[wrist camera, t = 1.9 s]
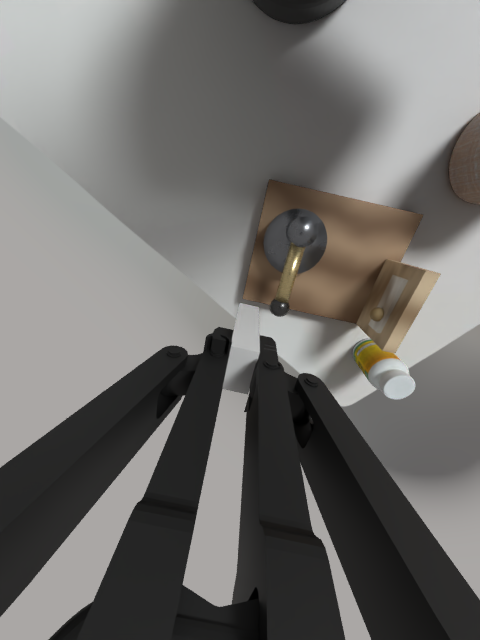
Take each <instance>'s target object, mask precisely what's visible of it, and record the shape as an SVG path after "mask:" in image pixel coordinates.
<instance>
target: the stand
mask: <svg viewBox="0 0 480 640" xmlns="http://www.w3.org/2000/svg"><path fill="white" fill-rule="evenodd" d="M291 209H306V210H309V211H311V212H313V213H315V214H316V215H317V216H318V217H319V218H320V219H321V220H322V222H323V223H324V225H325V228H326V232H327V246H326V249H325V252H324V254H323V256H322V258H321V259H320V261H319V262H318V263H317V264H316V265H315V266H314V267H313V268H311V269H310V270H308V271H306V272H303V273H300V274H297V276H296V279H295V282H294V286H293V289H292V292H291V295H290V298H289V305H290V309H292V310H296V311H301V312H305V313H310V314H314V315H319V316H323V317H328V318H333V319H337V320H342V321H346V322H351V323H355V324H357V325H358V326H359V327H360V328H361V329H362V330H363V331H364V332H365V333H366V334H367V335H368V336H369V337H370V338H371V339H372V341H373V342H374V343H375V344H376V345H377V346H378V347H379V348H380V349H381V350H382V351H386V352H391V353H396V351H397V349H398V347H399V346H400V344H401V342H402V341H403V339H404V337H405V335H406V334H407V332H408V330H409V328H410V327H411V325H412V323H413V321H414V320H415V318H416V316H417V315H418V313H419V311H420V309H421V308H422V306H423V304H424V302H425V301H426V299H427V297H428V295H429V294H430V292H431V290H432V288H433V287H434V285H435V283H436V282H437V280H438V278H439V276H440V275H441V274H440V273H436V272H433V271H429V270H426V269H422V268H418V267H415V266H411V265H408V264H404V263H401V260H402V258H403V256H404V254H405V252H406V250H407V248H408V246H409V244H410V241H411V239H412V237H413V235H414V233H415V231H416V229H417V227H418V225H419V223H420V221H421V219H422V217H423V215H422V214H417V213H413V212H409V211H404V210H400V209H396V208H391V207H387V206H383V205H378V204H374V203H370V202H365V201H361V200H357V199H352V198H348V197H343V196H339V195H335V194H330V193H326V192H322V191H317V190H313V189H309V188H304V187H300V186H296V185H291V184H287V183H283V182H278V181H274V180H269V182H268V186H267V191H266V195H265V200H264V204H263V209H262V213H261V218H260V223H259V227H258V232H257V236H256V241H255V245H254V250H253V254H252V259H251V263H250V268H249V272H248V277H247V281H246V286H245V290H244V295H243V299H246V300H251V301H255V302H260V303H264V304H269V305H270V303H271V301H272V300H273V299H275V297H276V293H277V290H278V286H279V283H280V279H281V275H282V272H280V271H278V270H277V269H275V268H274V267H273V266H272V265H271V264H270V263H269V261H268V260H267V258H266V255H265V252H264V245H263V241H264V235H265V232H266V229H267V227H268V226H269V224H270V223H271V221H272V220H273V219H274V218H275V217H276V216H278V215H279V214H281V213H283V212H285V211H287V210H291Z"/></svg>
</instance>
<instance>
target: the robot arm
mask: <svg viewBox="0 0 480 640" xmlns="http://www.w3.org/2000/svg"><path fill="white" fill-rule="evenodd" d="M344 1H345V0H253V2H254V3H255V4H256V5H257V6H258V7H259V8H260V9H261V10H262V11H263V12H265V13H266V14H267V15H269V16H270V17H272V18H274V19H276V20H279V21H282V22H285V23H292V24H301V23H307V22H311V21H314V20H317V19H319V18H322V17H324V16H325V15H327V14H329V13H330V12H332V11H333V10H335V9H336V8H337V7H338V6H340V5H341V4H342V3H343V2H344ZM222 389H226V390H231V391H235V392H240V393H244V394H248V392H249V389H250V393H249V397H248V400H247V404H246V407H245V411H244V412H247V415H246V431H245V448H244V465H243V481H242V482H243V483H242V498H241V515H240V532H239V548H238V564H237V574H236V575H237V576H236V581H235V586H234V592H233V600H232V605H228V606H223V607H217V606H214V605H212V604H211V603H209V602H208V601H206V600H205V599H203V598H202V597H200V596H199V595H197V594H196V593H194V592H193V591H191V590H190V589H188V588H186V587H185V586H183V585H182V584H183V579H184V574H185V569H186V564H187V559H188V554H189V550H190V545H191V540H192V535H193V530H194V525H195V520H196V515H197V509H198V504H199V499H200V495H201V490H202V485H203V480H204V475H205V470H206V465H207V461H208V456H209V451H210V446H211V441H212V436H213V431H214V427H215V422H216V417H217V412H218V407H219V402H220V398H221V392H222ZM183 395H185V398H184V400H183V402H182V405H181V407H180V410H179V412H178V415H177V417H176V420H175V422H174V424H173V427H172V429H171V432H170V434H169V436H168V439H167V441H166V444H165V446H164V449H163V451H162V453H161V456H160V458H159V461H158V463H157V466H156V468H155V470H154V473H153V475H152V478H151V480H150V483H149V485H148V488H147V490H146V492H145V494H144V497H143V498H142V500H141V501H140V502H138V503H137V505H136V506H135V508H134V509H133V511H132V514H131V516H130V518H129V520H128V522H127V524H126V527H125V529H124V531H123V534H122V536H121V539H120V541H119V543H118V545H117V548H116V550H115V552H114V554H113V557H112V559H111V561H110V564H109V566H108V568H107V571H106V574H105V575H104V578H103V580H102V582H101V585H100V587H99V589H98V592H97V594H96V596H95V599H94V601H93V602H92V603H90V604H89V605H87V606H86V607H84V608H83V609H81V610H80V611H79V612H78V613H77V614H75V615H74V616H73V617H72V618H71V619H69V620H68V621H67V622H66V623H65V624H64V625H63V626H62V627H61V628H60V629H59V630H58V631H57V632H56V633H55V634H54V635H53V636H52V637H51V638H50V639H49V640H345V636H344V631H343V626H342V622H341V617H340V612H339V608H338V602H337V598H336V593H335V589H334V584H333V579H332V575H331V569H330V564H329V560H328V556H327V553H326V549H325V547H324V545H323V543H322V541H321V539H319V538H318V537H316V536H315V535H314V533H313V531H312V527H311V522H310V516H309V510H308V505H307V499H306V494H305V488H304V482H303V476H302V471H301V465H302V467H303V470H304V473H305V475H306V478H307V480H308V483H309V485H310V487H311V490H312V493H313V495H314V497H315V500H316V502H317V505H318V507H319V510H320V513H321V515H322V518H323V520H324V522H325V525H326V528H327V530H328V532H329V535H330V537H331V540H332V542H333V545H334V547H335V550H336V552H337V555H338V557H339V560H340V562H341V565H342V567H343V570H344V572H345V575H346V577H347V580H348V582H349V585H350V587H351V590H352V592H353V595H354V597H355V599H356V602H357V605H358V607H359V610H360V612H361V615H362V617H363V620H364V622H365V624H366V627H367V630H368V632H369V634H370V637H371V640H480V600H479V598H478V597H477V596H476V594H475V593H474V591H473V590H472V589H471V587H470V586H469V585H468V583H467V582H466V580H465V579H464V578H463V576H462V575H461V573H460V572H459V571H458V569H457V568H456V567H455V565H454V564H453V562H452V561H451V560H450V558H449V557H448V555H447V554H446V553H445V551H444V550H443V548H442V547H441V546H440V544H439V543H438V541H437V540H436V539H435V537H434V536H433V534H432V533H431V532H430V530H429V529H428V528H427V526H426V525H425V524H424V522H423V521H422V519H421V518H420V516H419V515H418V514H417V512H416V511H415V510H414V508H413V507H412V505H411V504H410V502H409V501H408V500H407V498H406V497H405V496H404V495H403V493H402V491H401V490H400V489H399V487H398V486H397V484H396V483H395V482H394V480H393V479H392V477H391V476H390V475H389V473H388V472H387V470H386V469H385V468H384V466H383V465H382V464H381V462H380V461H379V459H378V458H377V457H376V455H375V454H374V452H373V451H372V450H371V448H370V447H369V445H368V444H367V443H366V442H365V440H364V439H363V437H362V436H361V434H360V433H359V432H358V430H357V429H356V427H355V426H354V425H353V423H352V422H351V420H350V419H349V418H348V416H347V415H346V413H345V412H344V411H343V409H342V408H341V407H340V405H339V404H338V402H337V401H336V400H335V398H334V397H333V395H332V394H331V393H330V391H329V390H328V388H327V387H326V386H325V384H324V383H323V382H322V381H321V380H320V379H319V378H318V377H316V376H314V375H312V374H308V373H301V374H300V375H299V376H298V378H295V377H293V376H291V375H289V374H287V373H285V372H284V368H283V366H282V364H281V363H280V362H278V356H277V349H276V343H275V341H274V340H273V339H272V338H270V337H266V336H261V335H259V307H256V306H251V305H247V304H242V303H240V304H239V309H238V313H237V318H236V322H235V327H234V330H231V329H226V328H221V327H218V328H216V329H215V330H214V332H213V333H212V334H209V335H207V337H206V341H205V347H204V352H203V353H201V354H198V355H188V353H187V351H186V350H185V349H184V348H182V347H179V346H167V347H164V348H162V349H161V350H160V351H158V352H157V353H155V354H154V355H153V356H151V357H150V358H149V359H147V360H146V361H145V362H143V363H142V364H140V365H139V366H138V367H136V368H135V369H134V370H132V371H131V372H130V373H128V374H127V375H126V376H124V377H123V378H121V379H120V380H119V381H117V382H116V383H115V384H113V385H112V386H111V387H109V388H108V389H107V390H106V391H104V392H102V393H101V394H100V395H98V396H97V397H96V398H94V399H93V400H92V401H90V402H89V403H88V404H86V405H85V406H84V407H82V408H81V409H79V410H78V411H77V412H75V413H74V414H73V415H71V416H70V417H69V418H67V419H66V420H65V421H63V422H62V423H60V424H59V425H58V426H56V427H55V428H54V429H52V430H51V431H50V432H48V433H47V434H46V435H44V436H43V437H41V438H40V439H39V440H37V441H36V442H35V443H33V444H32V445H31V446H29V447H28V448H26V449H25V450H24V451H22V452H21V453H20V454H18V455H17V456H16V457H14V458H13V459H12V460H10V461H9V462H7V463H6V464H5V465H4V466H2V467H1V468H0V616H1V615H2V614H3V613H4V612H5V611H6V610H7V609H8V607H9V606H10V605H11V604H12V603H13V602H14V601H15V599H16V598H17V597H18V596H19V595H20V594H21V593H22V591H23V590H24V589H25V588H26V587H27V586H28V585H29V583H30V582H31V581H32V580H33V578H34V577H35V576H36V575H37V574H38V572H39V571H40V570H41V569H42V567H43V566H44V565H45V564H46V563H47V561H48V560H49V559H50V558H51V557H52V555H53V554H54V553H55V552H56V551H57V549H58V548H59V547H60V546H61V544H62V543H63V542H64V541H65V539H66V538H67V537H68V536H69V535H70V533H71V532H72V531H73V530H74V529H75V527H76V526H77V525H78V524H79V523H80V521H81V520H82V519H83V518H84V516H85V515H86V514H87V513H88V512H89V510H90V509H91V508H92V507H93V505H94V504H95V503H96V502H97V501H98V499H99V498H100V497H101V496H102V495H103V493H104V492H105V491H106V490H107V488H108V487H109V486H110V485H111V484H112V482H113V481H114V480H115V479H116V477H117V476H118V475H119V474H120V473H121V471H122V470H123V469H124V468H125V467H126V465H127V464H128V463H129V462H130V460H131V459H132V458H133V457H134V456H135V454H136V453H137V452H138V450H139V449H140V448H141V447H142V446H143V445H144V443H145V442H146V441H147V440H148V438H149V437H150V436H151V435H152V434H153V432H154V431H155V430H156V429H157V427H158V426H159V425H160V424H161V423H162V422H163V420H164V419H165V418H166V417H167V415H168V414H169V413H170V412H171V411H172V409H173V408H174V407H175V406H176V404H177V403H178V402H179V401H180V400H181V397H182V396H183ZM311 418H312V419H311ZM300 463H301V465H300Z"/></svg>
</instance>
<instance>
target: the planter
mask: <svg viewBox="0 0 480 640" xmlns="http://www.w3.org/2000/svg"><path fill="white" fill-rule="evenodd" d="M449 179H450V184H451V186H452V188H453V190H454V192H455V193H456V195H457V196H458V197H460V198H461V199H462V200H464V201H466V202H469V203H472V204H480V113H479V114H478V115H477V116H476V117H475V118H474V119H473V120H472V121H471V122H470V123H469V124H468V126H467V127H466V128H465V129H464V131H463V132H462V134H461V135H460V137H459V139H458V140H457V142H456V145H455V147H454V149H453V152H452V155H451V159H450V164H449Z"/></svg>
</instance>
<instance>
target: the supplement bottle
mask: <svg viewBox="0 0 480 640" xmlns="http://www.w3.org/2000/svg"><path fill="white" fill-rule="evenodd" d="M353 358H354V360H355V361H356V363H357V364H358V366H359V367H360V369H361V370H362V371H363V373H364V374H365V376H366V377H367V379H368V380H369V382H370V383H371V384H372V385H373V386H374V387H375V388H377V389H380V390H381V391H382V392H383V393H384V394H385V395H386V396H387V397H388V398H391V399H402V398H405V397H407V396H409V395H410V394H411V393H412V392H413V391H414V389H415V382H414V380H413V379H412V378H411V377H410V375H409V370H408V367H407V366H406V364H405V363H404V362H403V361H402V360H400V359H399V358H398V357H397V356H396V355H395V354H394V353H391V352H386V351H382V350H381V349H380V348H379V347H378V346H377V345H376V344H375V343H374V342H373V341H372V339H371V338H369V339H364V340H362V341H360V342H359V343H357V344H356V346H355V347H354V349H353Z"/></svg>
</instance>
